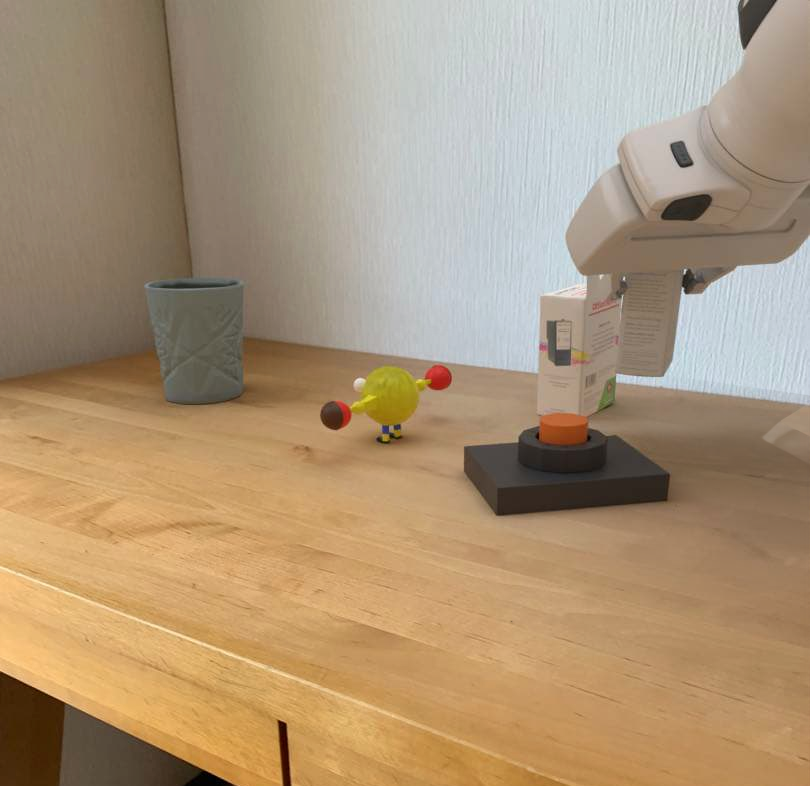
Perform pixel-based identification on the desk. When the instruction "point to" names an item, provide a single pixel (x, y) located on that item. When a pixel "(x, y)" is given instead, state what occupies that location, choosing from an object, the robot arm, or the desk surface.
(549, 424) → the button
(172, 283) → the drinking glass
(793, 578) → the desk surface
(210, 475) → the desk surface
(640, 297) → the cosmetic box
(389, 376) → the toy figure
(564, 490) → the black button base
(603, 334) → the ink box
